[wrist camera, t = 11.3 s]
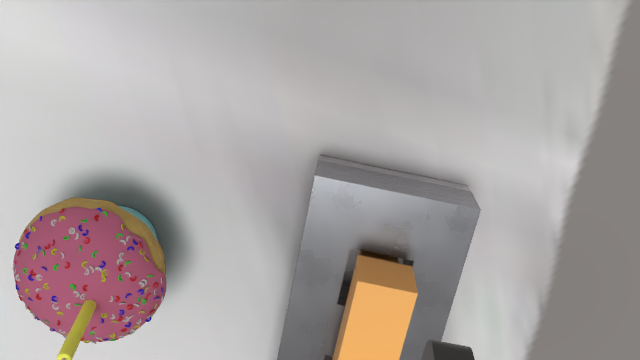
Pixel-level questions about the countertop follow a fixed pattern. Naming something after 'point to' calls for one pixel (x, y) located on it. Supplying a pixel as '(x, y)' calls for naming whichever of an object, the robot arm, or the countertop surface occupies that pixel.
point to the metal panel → (376, 250)
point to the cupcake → (90, 271)
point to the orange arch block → (376, 309)
